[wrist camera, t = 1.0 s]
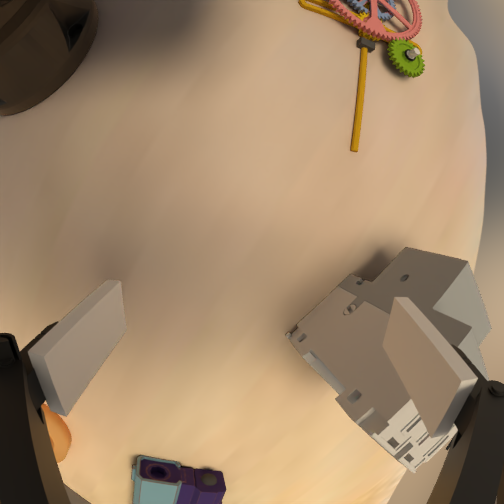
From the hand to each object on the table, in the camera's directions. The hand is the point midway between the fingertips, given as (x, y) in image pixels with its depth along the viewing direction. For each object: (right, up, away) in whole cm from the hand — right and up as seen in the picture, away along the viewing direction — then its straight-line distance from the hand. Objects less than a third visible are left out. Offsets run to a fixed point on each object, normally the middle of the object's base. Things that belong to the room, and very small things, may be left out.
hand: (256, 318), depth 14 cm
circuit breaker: (+10, -2, +15) cm, 18 cm away
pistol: (-8, -28, +15) cm, 33 cm away
